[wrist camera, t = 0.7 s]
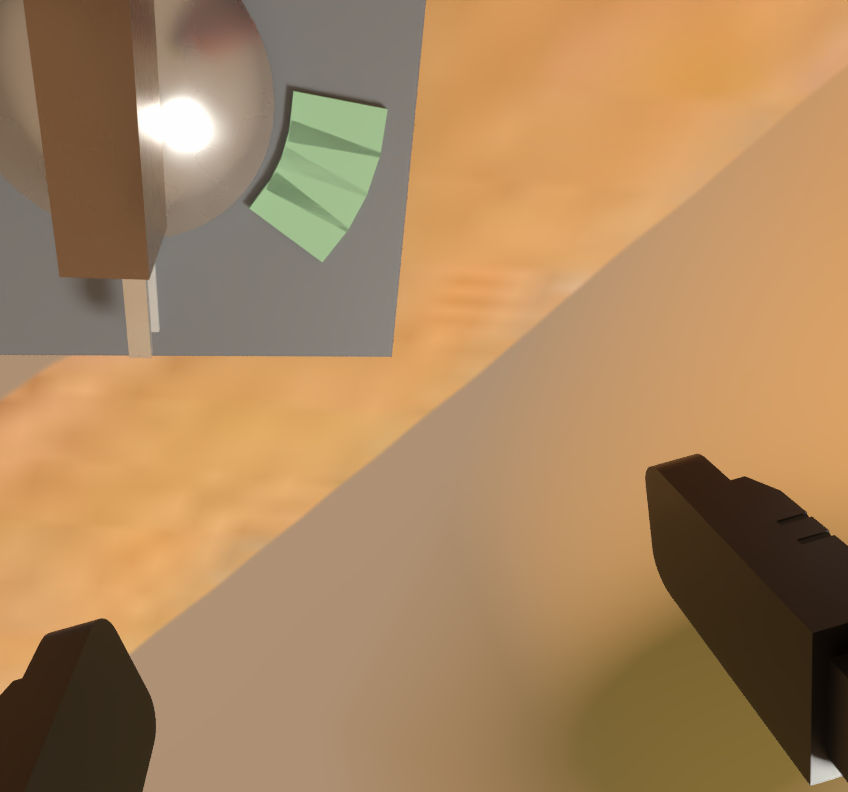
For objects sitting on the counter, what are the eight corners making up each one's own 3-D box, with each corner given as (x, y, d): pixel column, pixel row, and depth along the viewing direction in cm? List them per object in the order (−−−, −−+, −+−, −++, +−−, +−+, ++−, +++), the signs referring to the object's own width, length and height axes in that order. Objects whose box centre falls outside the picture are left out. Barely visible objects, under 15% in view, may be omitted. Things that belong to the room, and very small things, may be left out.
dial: (-65, -110, 21) (-197, -164, 15) (274, -59, 24) (287, -86, 17) (11, 335, 28) (-58, 431, 21) (270, 337, 30) (278, 424, 24)
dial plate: (-119, 334, 29) (-145, 357, 27) (-305, -374, 19) (-366, -418, 17) (383, 339, 34) (392, 359, 32) (433, -214, 25) (450, -234, 23)
